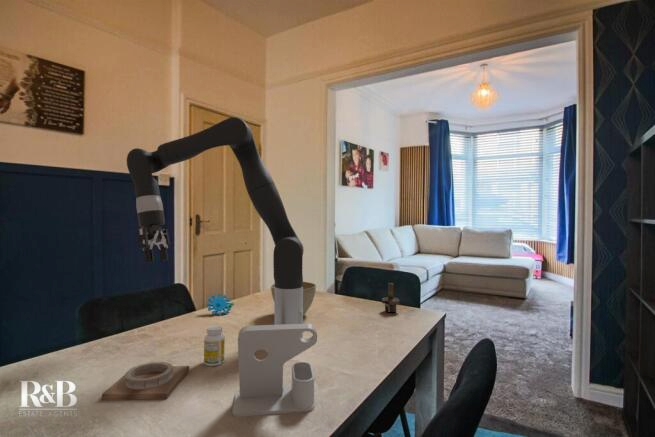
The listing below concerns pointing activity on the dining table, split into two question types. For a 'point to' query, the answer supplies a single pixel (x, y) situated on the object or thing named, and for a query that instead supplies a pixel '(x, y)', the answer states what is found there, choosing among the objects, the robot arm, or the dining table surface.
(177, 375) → the walnut board
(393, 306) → the industrial component
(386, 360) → the dining table surface
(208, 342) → the supplement bottle
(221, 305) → the blue spiky rounded piece
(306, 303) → the flower pot
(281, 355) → the white tool holder stand
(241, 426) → the dining table surface
